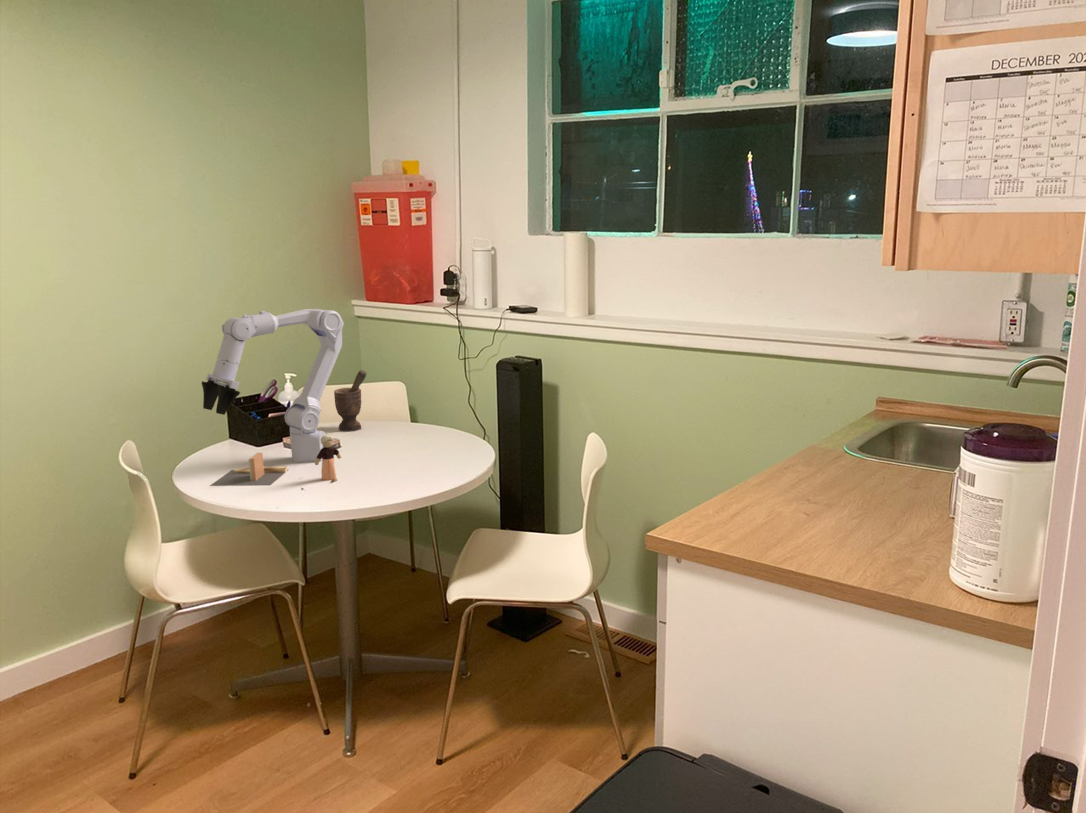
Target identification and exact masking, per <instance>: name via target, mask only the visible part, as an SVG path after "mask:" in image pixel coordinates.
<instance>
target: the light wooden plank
mask: <svg viewBox="0 0 1086 813" xmlns="http://www.w3.org/2000/svg"><path fill="white" fill-rule="evenodd" d="M234 470H235V471H234V474H238V473H250V468H249V467H243V468H242V467H238V468H236V469H234ZM288 471H289V469H288V466H287V465H285V466H283V465H282V466H264V473H272V472H286V473H287V472H288Z"/></svg>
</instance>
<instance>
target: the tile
mask: <svg viewBox="0 0 1086 813" xmlns="http://www.w3.org/2000/svg"><path fill="white" fill-rule="evenodd" d="M248 465H249V467H248V468H250V478H251V481H256V480H258V479H259V478H260V477H261V476H263V475H264V467H265V466H264V455H263V452H256V453H255V454H253V455H252V456H250V457H249V458H248Z"/></svg>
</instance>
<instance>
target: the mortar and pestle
mask: <svg viewBox="0 0 1086 813" xmlns="http://www.w3.org/2000/svg"><path fill="white" fill-rule="evenodd" d="M366 378H367V372H366V371H365V370H362V369H361V370H359V371H358V372H357V374H356V376H355V379H354V382H353V384H352V386H351V387H341V388H337V389H335V390H334V391H333V394H334V395H333V396H334V405H335V410H336V413H337V414H338V416H340V417H341V419H342V420H341V422H340V423H339V425H338V430H339V431H341V432H349V431H358V430H360V429H362V425H361V423H360V422H359V421H358V420H357V416H359V414H360V412H361V408H362V390H361V388H360V386H361V385H362V384H363V382H364V381H365V380H366Z"/></svg>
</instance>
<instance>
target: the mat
mask: <svg viewBox="0 0 1086 813" xmlns="http://www.w3.org/2000/svg"><path fill="white" fill-rule="evenodd" d="M235 470H236V469H231V470H230V471H228V472H227V473H226V474H224V475H223V476H221V477H220V478H218V479H217V480H216V481H214V482H213V483H211V484H210V485H209V486H210V487H219V486H222V487H225V486H226V487H227V486H230V487H231V486H232V487H233V486H235V487H237V486H239V487H240V486H241V487H242V486H243V487H245V486H253V487H254V486H256V487H257V486H271V485H273V484H274V483H275V482H276V481H277V480H279V478H282V477H283V475H285V474H286V473H287V472H272V473H264V475H263V476H261V477H260V478H259V479H258V480H256V481H251V478H250V473H238V474H234V471H235Z"/></svg>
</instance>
